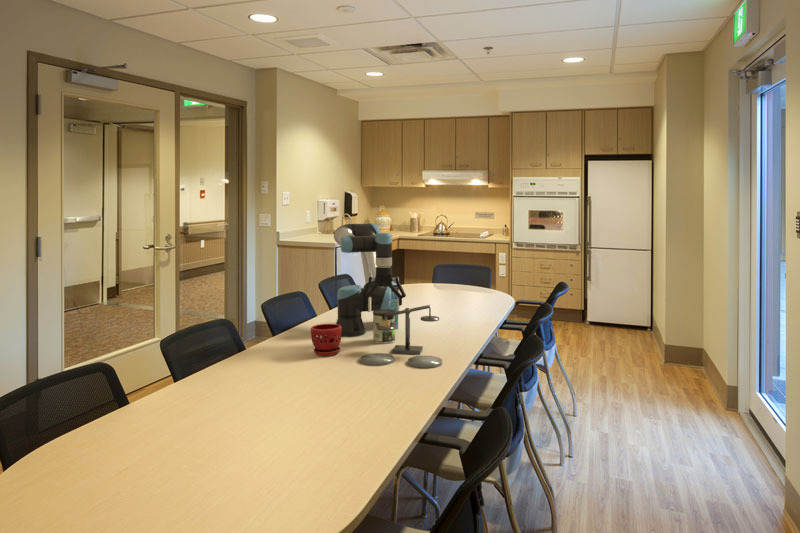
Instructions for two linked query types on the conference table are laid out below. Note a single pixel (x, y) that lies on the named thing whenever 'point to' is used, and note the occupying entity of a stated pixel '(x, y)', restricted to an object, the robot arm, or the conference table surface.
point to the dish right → (425, 361)
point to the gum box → (394, 303)
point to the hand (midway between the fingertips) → (384, 312)
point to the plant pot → (326, 339)
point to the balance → (406, 329)
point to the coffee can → (383, 336)
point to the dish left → (377, 359)
